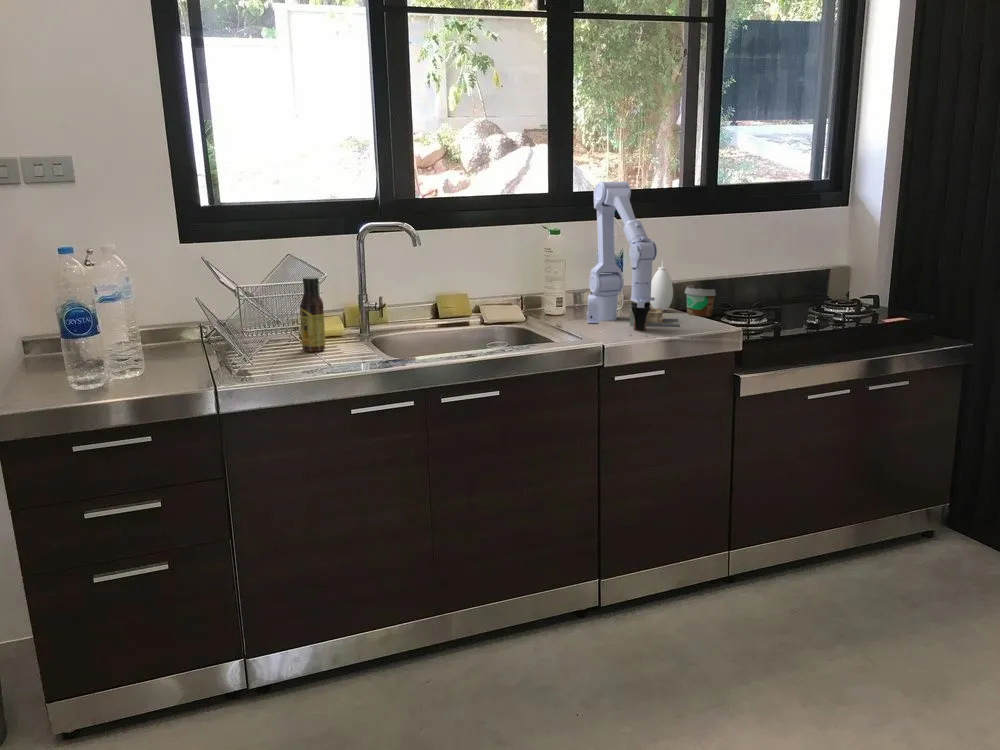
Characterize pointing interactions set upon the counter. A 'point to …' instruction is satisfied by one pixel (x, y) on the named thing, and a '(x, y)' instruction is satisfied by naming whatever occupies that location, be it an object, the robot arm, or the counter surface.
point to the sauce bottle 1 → (312, 317)
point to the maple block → (654, 316)
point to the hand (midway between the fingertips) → (639, 328)
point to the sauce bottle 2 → (661, 289)
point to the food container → (699, 301)
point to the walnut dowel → (639, 330)
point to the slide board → (654, 323)
